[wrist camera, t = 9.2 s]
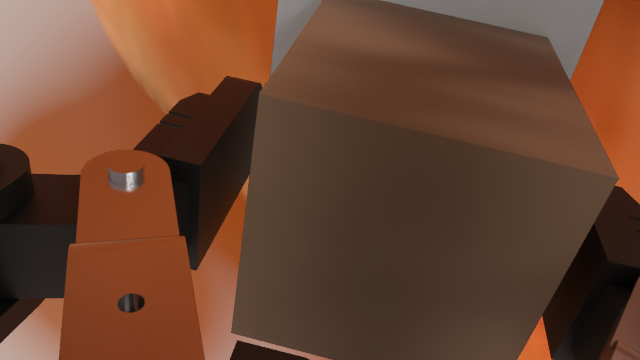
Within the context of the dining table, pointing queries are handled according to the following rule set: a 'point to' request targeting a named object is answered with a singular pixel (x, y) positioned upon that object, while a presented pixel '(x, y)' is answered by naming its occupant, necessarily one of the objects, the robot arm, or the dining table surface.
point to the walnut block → (413, 188)
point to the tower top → (477, 5)
